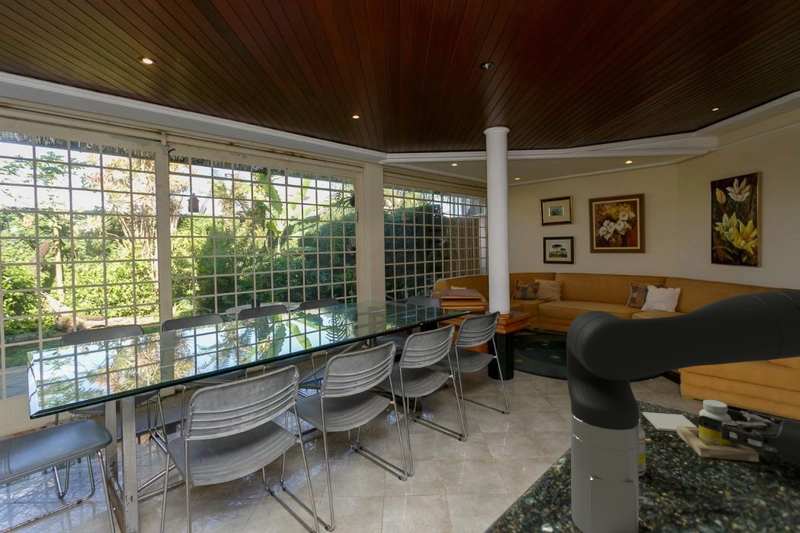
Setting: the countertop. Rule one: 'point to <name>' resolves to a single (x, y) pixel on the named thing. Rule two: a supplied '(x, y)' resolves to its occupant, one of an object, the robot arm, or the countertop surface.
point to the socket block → (716, 447)
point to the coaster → (667, 421)
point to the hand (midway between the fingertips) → (708, 415)
